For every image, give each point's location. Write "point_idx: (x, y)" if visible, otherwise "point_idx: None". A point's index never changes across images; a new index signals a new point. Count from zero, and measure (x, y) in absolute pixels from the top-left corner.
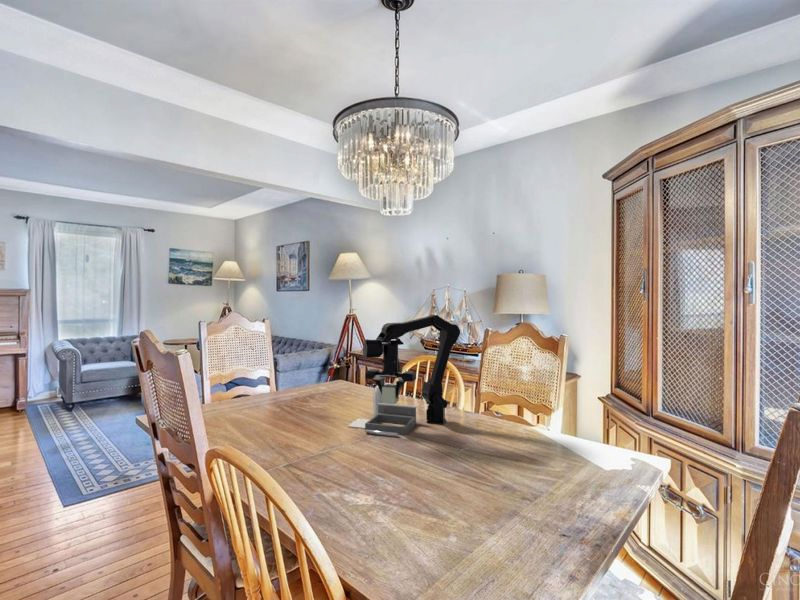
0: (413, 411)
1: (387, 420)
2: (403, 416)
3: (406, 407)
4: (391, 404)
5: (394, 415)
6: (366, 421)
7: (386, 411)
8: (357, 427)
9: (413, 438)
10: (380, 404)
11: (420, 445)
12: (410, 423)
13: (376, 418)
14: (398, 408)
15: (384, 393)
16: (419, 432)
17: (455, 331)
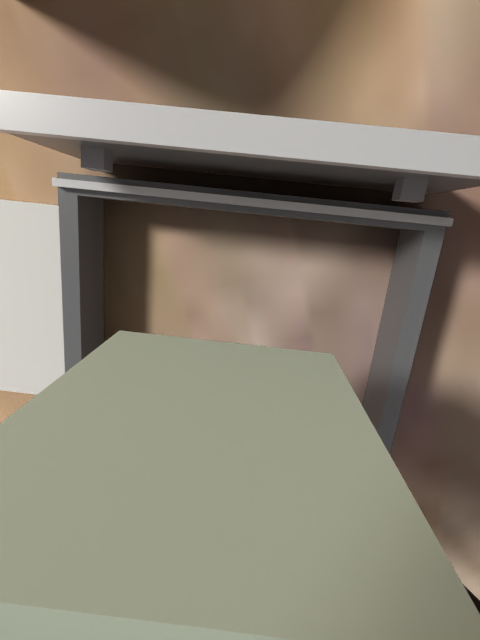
0: (464, 180)
1: (180, 206)
2: (334, 214)
3: (392, 167)
4: (173, 127)
5: (240, 205)
6: (23, 260)
7: (137, 153)
8: (23, 391)
9: (424, 499)
10: (22, 133)
11: (468, 583)
12: (409, 355)
13: (88, 249)
14: (278, 161)
15: None
16: (462, 395)
17: None
